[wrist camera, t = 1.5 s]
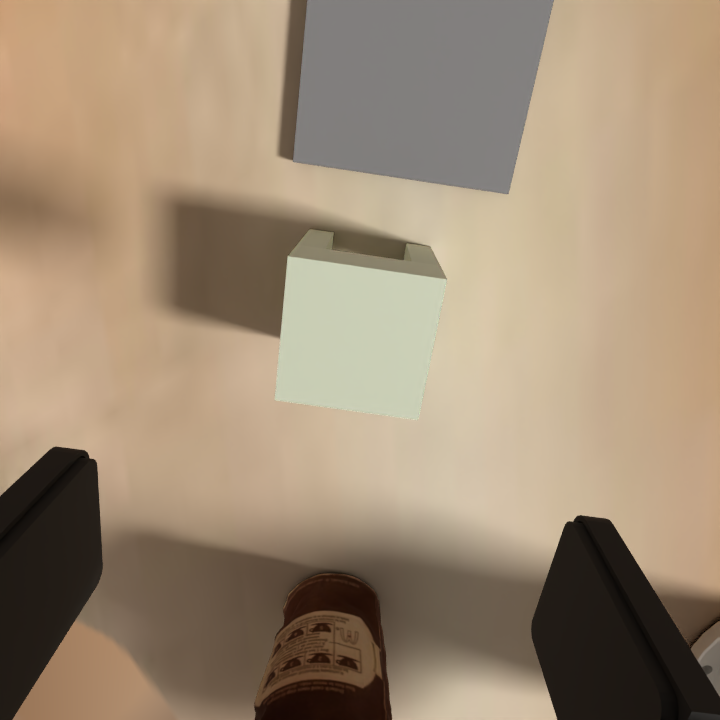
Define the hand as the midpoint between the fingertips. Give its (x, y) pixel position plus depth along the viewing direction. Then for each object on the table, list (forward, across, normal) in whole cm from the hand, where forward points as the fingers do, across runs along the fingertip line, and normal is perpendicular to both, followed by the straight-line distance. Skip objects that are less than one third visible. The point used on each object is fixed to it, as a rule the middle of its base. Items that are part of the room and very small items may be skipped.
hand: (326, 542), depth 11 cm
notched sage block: (+18, 0, 0) cm, 18 cm away
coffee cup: (+18, -1, +21) cm, 28 cm away
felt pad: (+18, -1, -11) cm, 22 cm away
